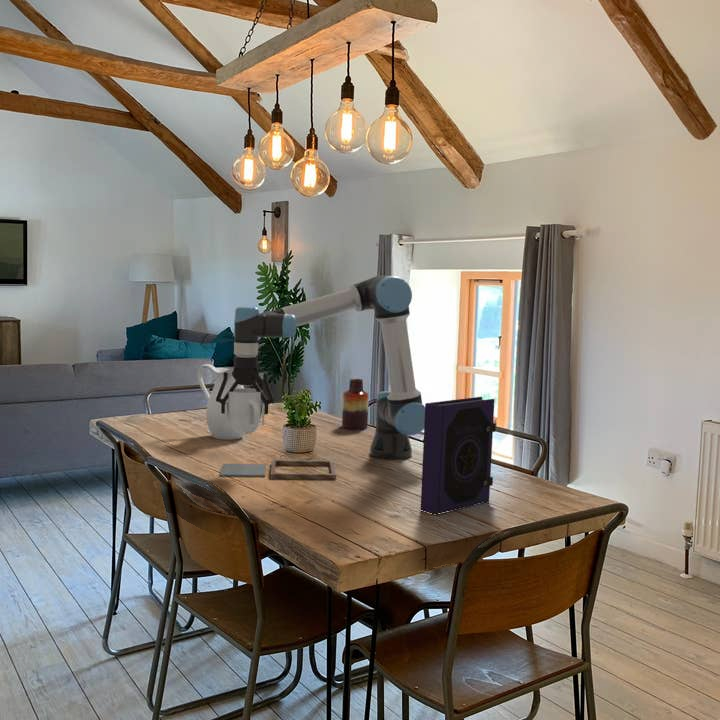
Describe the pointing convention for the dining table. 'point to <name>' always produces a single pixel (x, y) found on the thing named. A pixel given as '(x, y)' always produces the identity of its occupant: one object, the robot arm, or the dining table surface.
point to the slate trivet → (243, 470)
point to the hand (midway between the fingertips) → (244, 424)
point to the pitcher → (218, 404)
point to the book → (457, 454)
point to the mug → (244, 409)
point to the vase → (355, 406)
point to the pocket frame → (302, 475)
